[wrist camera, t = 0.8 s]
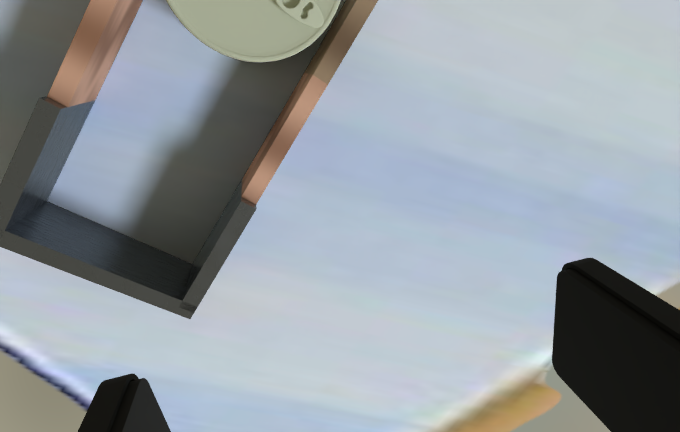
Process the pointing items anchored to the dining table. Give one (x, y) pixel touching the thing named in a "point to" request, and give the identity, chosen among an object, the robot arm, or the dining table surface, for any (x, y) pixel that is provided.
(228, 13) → the can
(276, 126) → the channel
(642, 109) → the dining table surface
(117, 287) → the box
